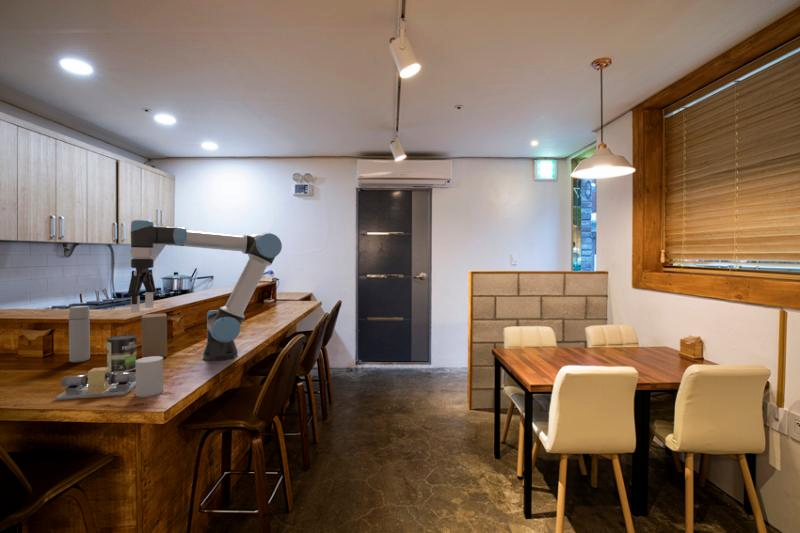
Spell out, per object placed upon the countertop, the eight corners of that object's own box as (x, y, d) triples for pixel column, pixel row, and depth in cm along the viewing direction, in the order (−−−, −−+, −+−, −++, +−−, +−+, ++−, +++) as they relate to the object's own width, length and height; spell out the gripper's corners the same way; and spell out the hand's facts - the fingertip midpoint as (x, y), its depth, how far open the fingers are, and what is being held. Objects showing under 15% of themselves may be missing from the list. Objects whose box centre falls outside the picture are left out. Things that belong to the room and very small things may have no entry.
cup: (166, 392, 131) (166, 359, 130) (139, 398, 125) (138, 364, 124) (159, 386, 136) (159, 354, 136) (133, 392, 130) (132, 359, 130)
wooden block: (166, 352, 184) (165, 313, 183) (167, 356, 176) (167, 315, 175) (141, 355, 178) (141, 314, 177) (141, 360, 170) (141, 317, 169)
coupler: (87, 391, 127) (87, 371, 127) (93, 387, 131) (93, 368, 131) (105, 389, 129) (105, 370, 129) (110, 385, 133) (110, 367, 133)
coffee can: (143, 367, 159) (142, 335, 159) (120, 374, 149) (120, 340, 149) (123, 365, 161) (123, 333, 161) (100, 372, 151) (99, 339, 151)
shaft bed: (139, 384, 138) (139, 366, 138) (126, 394, 128) (126, 375, 128) (73, 388, 133) (73, 370, 133) (54, 400, 122) (53, 380, 122)
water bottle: (92, 360, 167) (91, 306, 167) (69, 364, 162) (68, 308, 161) (89, 356, 174) (88, 304, 173) (67, 360, 168) (66, 306, 167)
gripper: (144, 257, 159) (144, 306, 160) (116, 258, 135) (117, 315, 136) (163, 258, 161) (164, 305, 162) (140, 258, 137) (140, 314, 138)
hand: (142, 310), depth 149 cm, fingers open, 13 cm apart
